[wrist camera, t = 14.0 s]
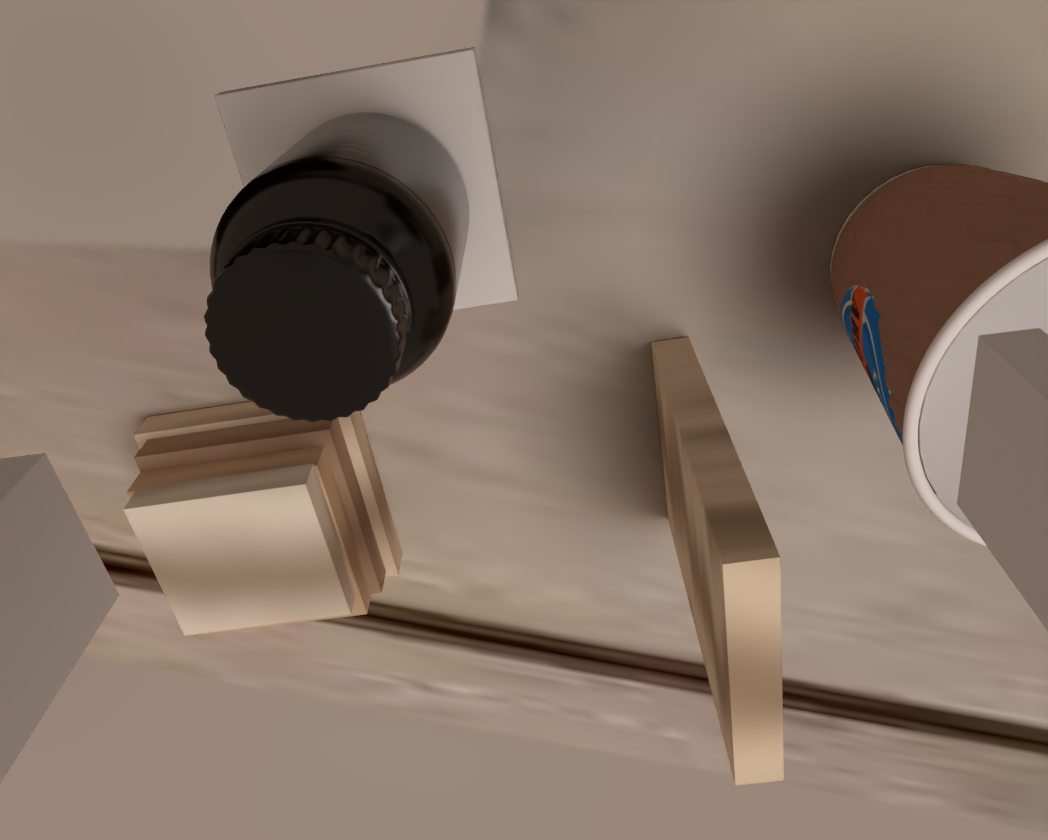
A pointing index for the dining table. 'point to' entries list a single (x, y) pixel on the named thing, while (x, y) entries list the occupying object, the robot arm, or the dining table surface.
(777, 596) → the set of wooden blocks
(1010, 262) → the coffee cup
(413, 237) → the supplement bottle
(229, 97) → the grey pad
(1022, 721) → the dining table surface
